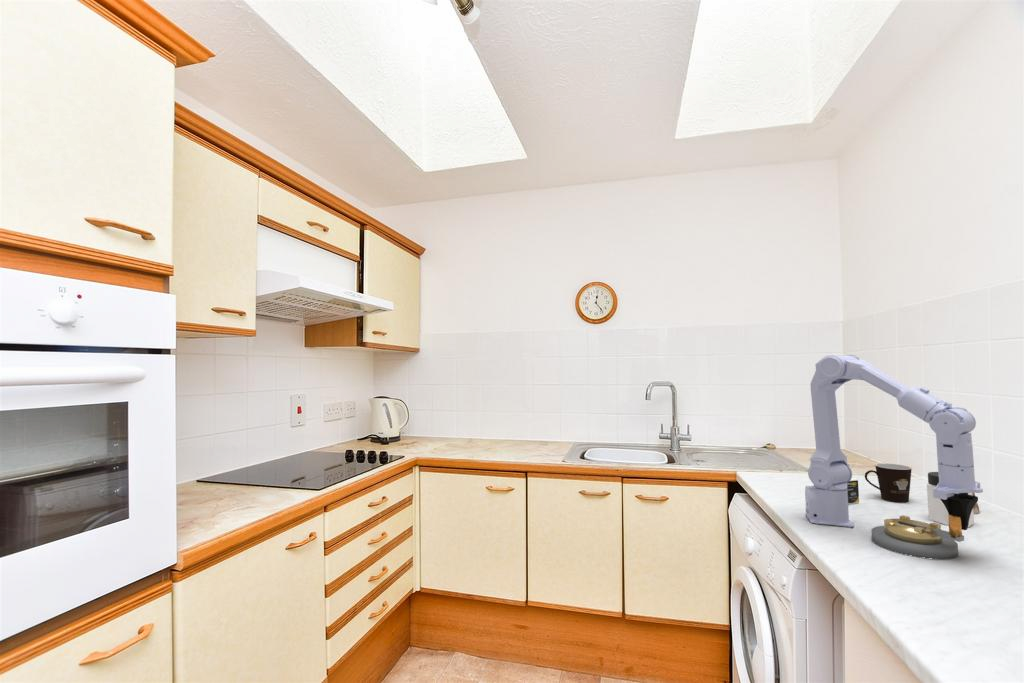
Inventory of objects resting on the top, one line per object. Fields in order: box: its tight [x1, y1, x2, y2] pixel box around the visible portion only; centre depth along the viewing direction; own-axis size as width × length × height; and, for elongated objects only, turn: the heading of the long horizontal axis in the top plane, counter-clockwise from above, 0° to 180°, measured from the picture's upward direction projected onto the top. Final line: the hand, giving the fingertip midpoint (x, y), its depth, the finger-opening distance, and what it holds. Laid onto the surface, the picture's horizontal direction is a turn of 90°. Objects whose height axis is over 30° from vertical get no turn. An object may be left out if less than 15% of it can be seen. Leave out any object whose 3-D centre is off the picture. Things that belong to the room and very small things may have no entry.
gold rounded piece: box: [883, 514, 965, 545], centre depth 106 cm, size 14×10×7 cm
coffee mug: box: [864, 463, 913, 504], centre depth 143 cm, size 12×9×10 cm
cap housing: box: [870, 525, 959, 560], centre depth 107 cm, size 15×15×2 cm
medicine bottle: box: [847, 462, 860, 505], centre depth 142 cm, size 7×7×12 cm
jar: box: [926, 471, 975, 528], centre depth 123 cm, size 9×8×12 cm
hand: (959, 528), depth 101 cm, fingers closed
